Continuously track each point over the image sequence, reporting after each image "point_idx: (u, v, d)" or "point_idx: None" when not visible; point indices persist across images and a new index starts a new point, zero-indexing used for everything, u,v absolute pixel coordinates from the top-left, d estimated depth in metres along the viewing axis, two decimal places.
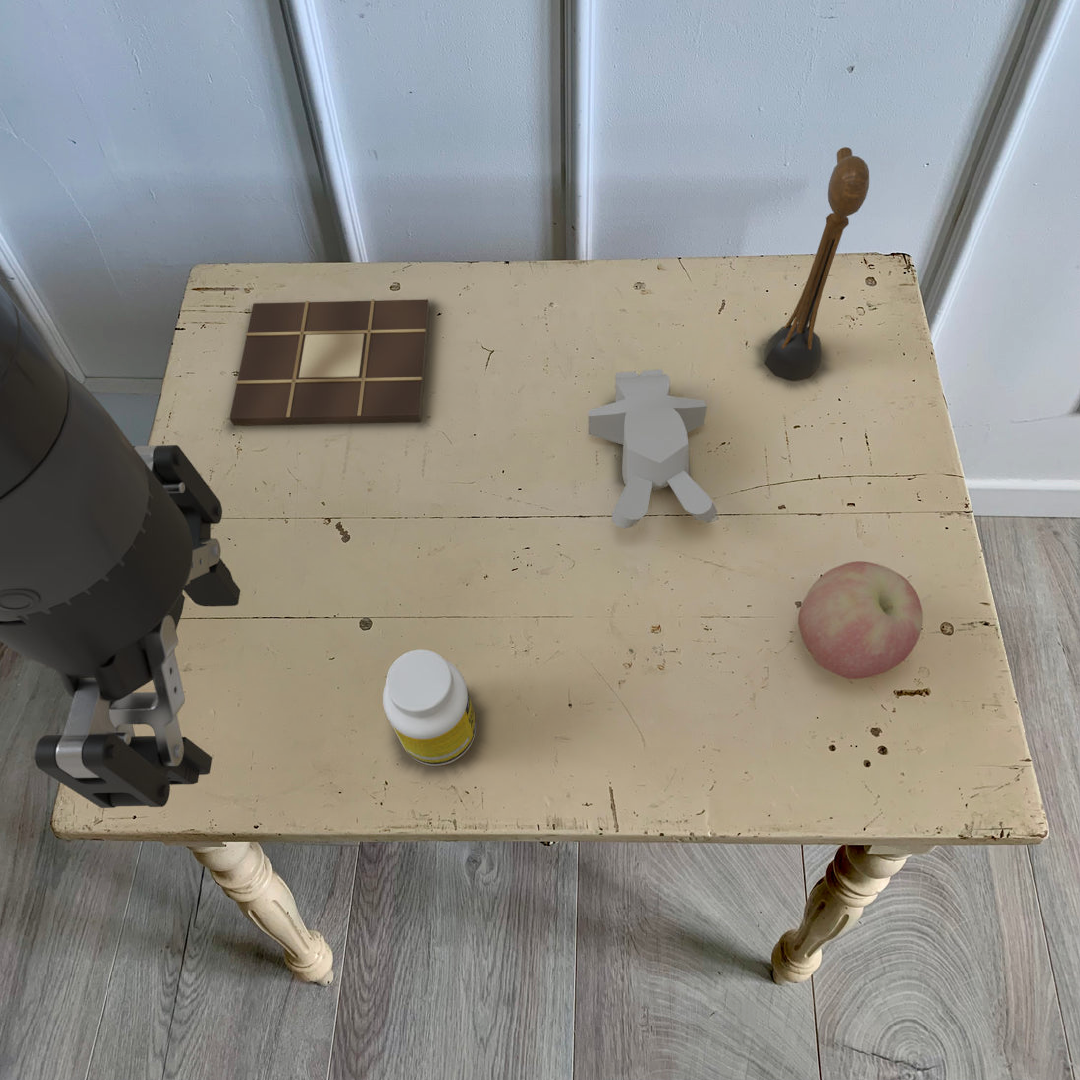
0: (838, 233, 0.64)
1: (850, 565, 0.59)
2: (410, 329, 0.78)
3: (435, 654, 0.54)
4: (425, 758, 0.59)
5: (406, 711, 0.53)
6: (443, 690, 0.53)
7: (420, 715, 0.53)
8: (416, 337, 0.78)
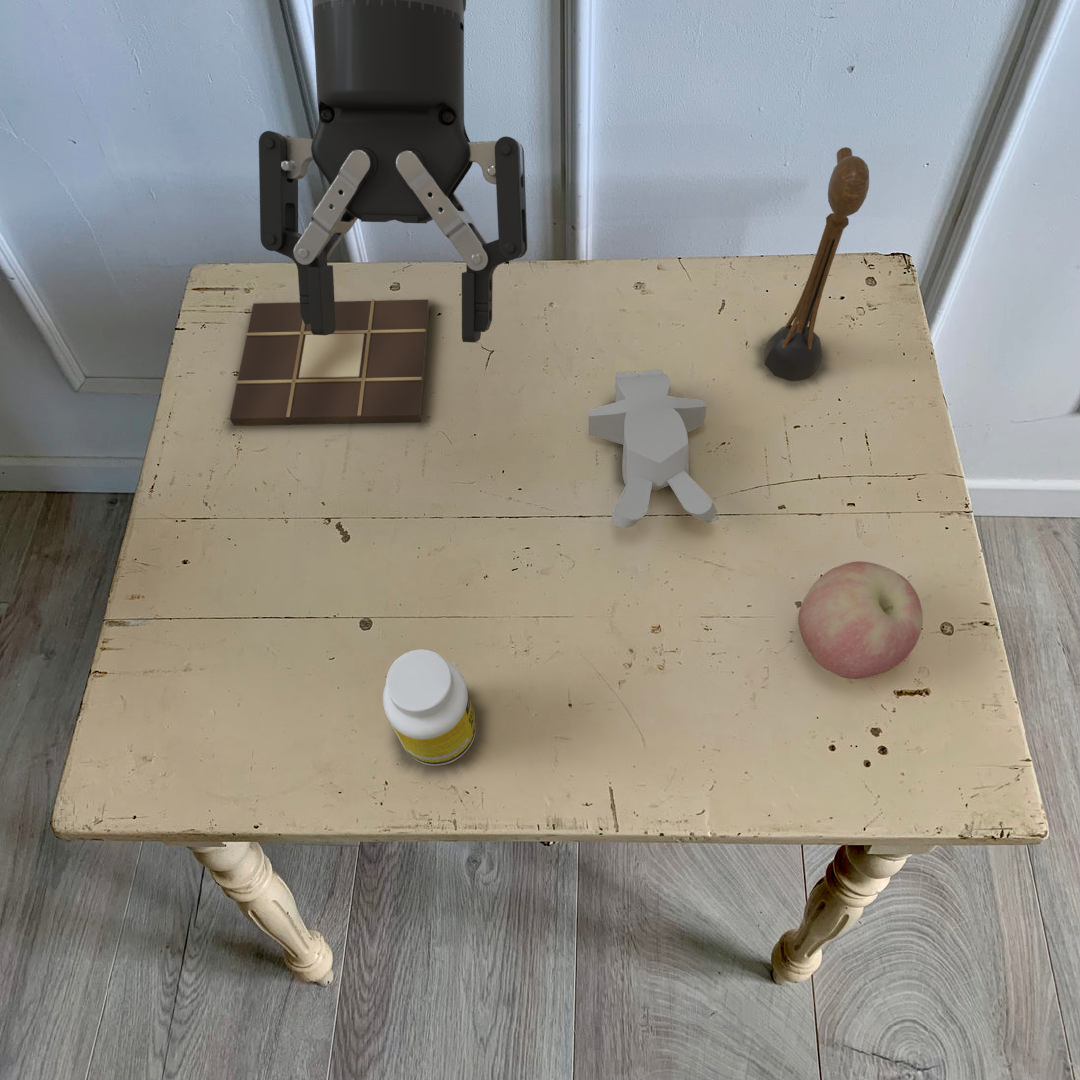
0: (838, 233, 0.64)
1: (850, 565, 0.59)
2: (410, 329, 0.78)
3: (435, 654, 0.54)
4: (425, 758, 0.59)
5: (406, 711, 0.53)
6: (443, 690, 0.53)
7: (420, 715, 0.53)
8: (416, 337, 0.78)
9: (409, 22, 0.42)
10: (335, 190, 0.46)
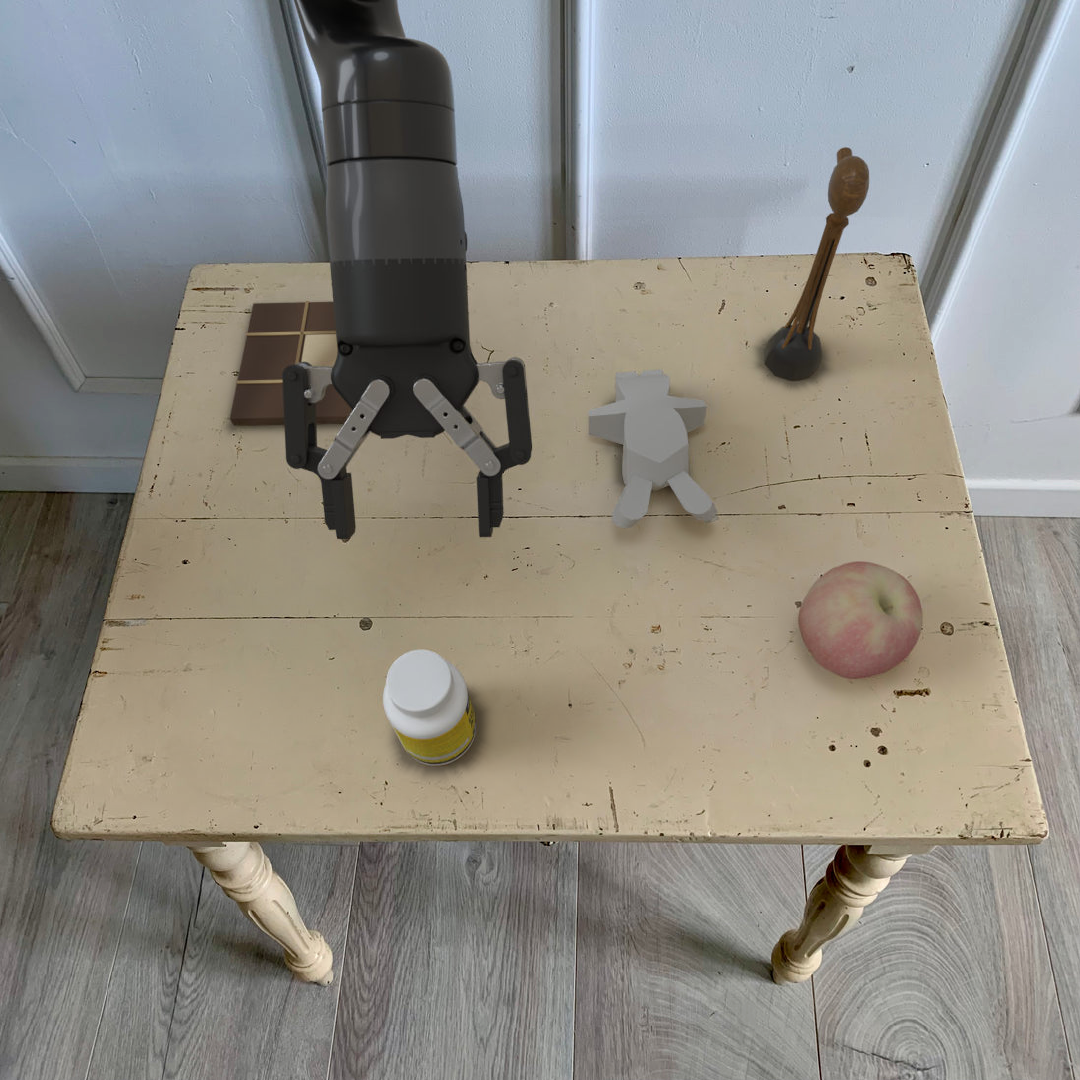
0: (838, 233, 0.64)
1: (850, 565, 0.59)
2: None
3: (435, 654, 0.54)
4: (425, 758, 0.59)
5: (406, 711, 0.53)
6: (443, 690, 0.53)
7: (420, 715, 0.53)
8: None
9: (424, 275, 0.46)
10: (357, 415, 0.50)
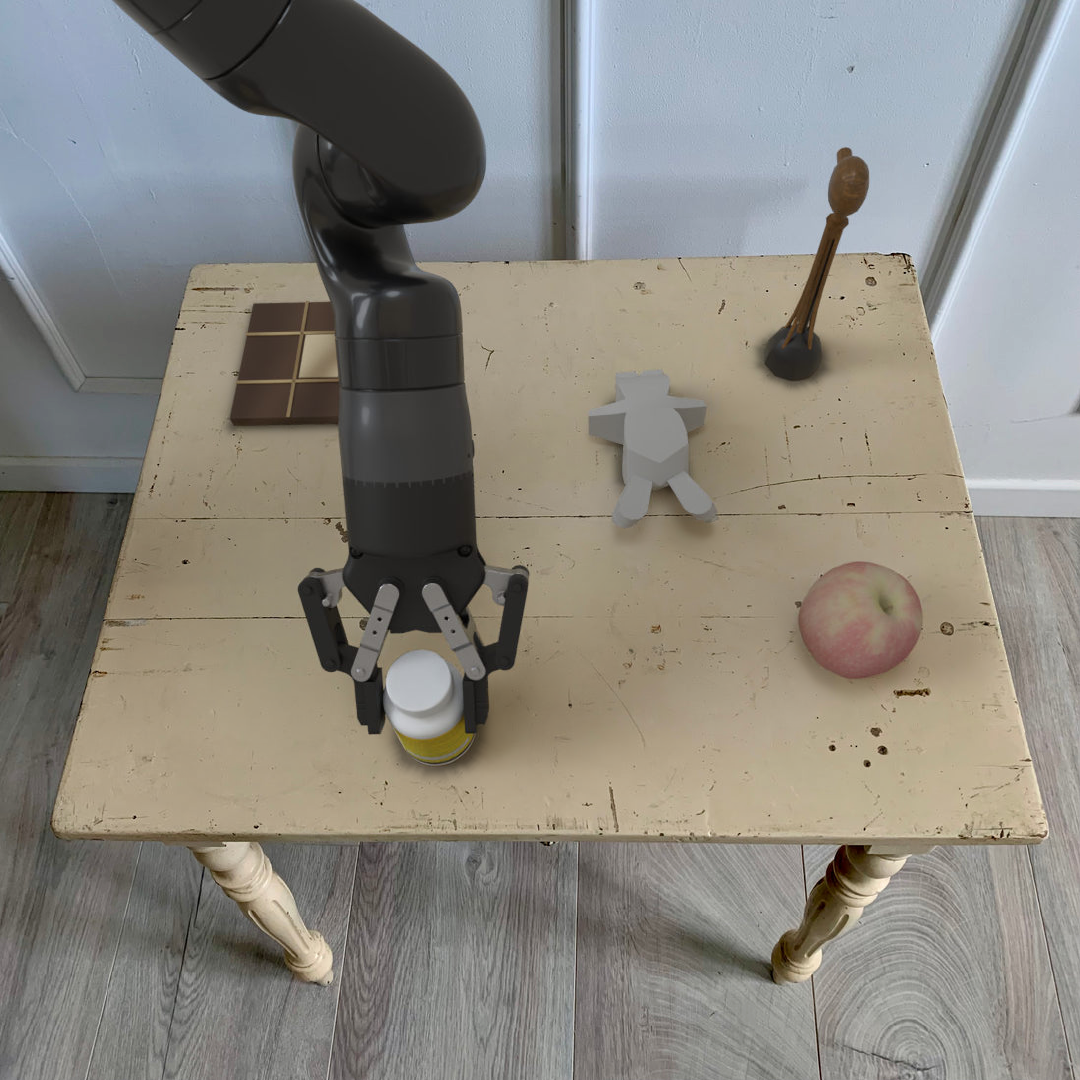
0: (838, 233, 0.64)
1: (850, 565, 0.59)
2: None
3: (435, 654, 0.54)
4: (425, 758, 0.59)
5: (406, 711, 0.53)
6: (443, 691, 0.53)
7: (420, 715, 0.53)
8: None
9: (433, 495, 0.48)
10: (374, 619, 0.52)
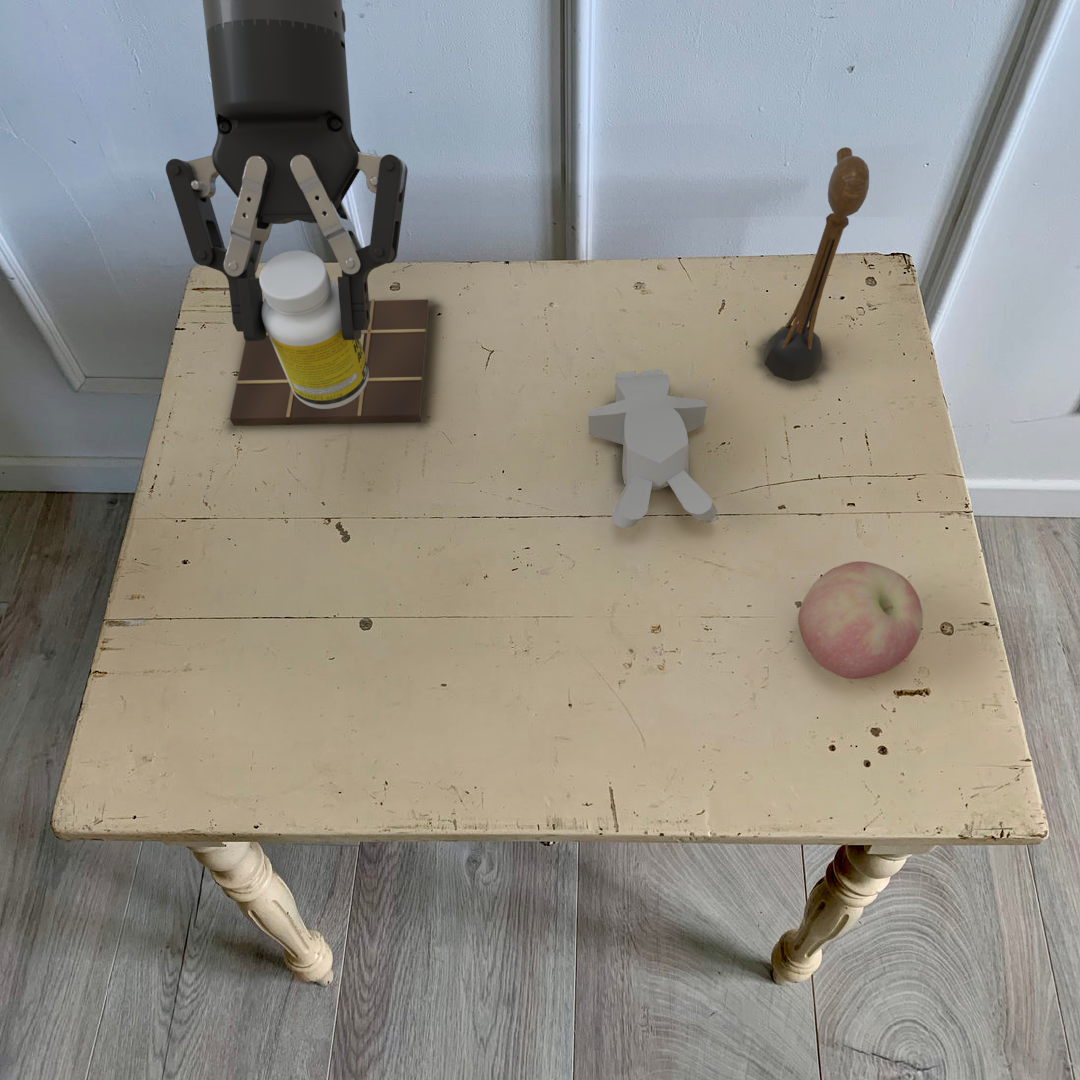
0: (838, 233, 0.64)
1: (850, 565, 0.59)
2: (410, 329, 0.78)
3: (311, 254, 0.53)
4: (311, 392, 0.58)
5: (278, 301, 0.52)
6: (316, 282, 0.52)
7: (293, 308, 0.52)
8: (416, 337, 0.78)
9: (294, 39, 0.47)
10: (243, 199, 0.51)
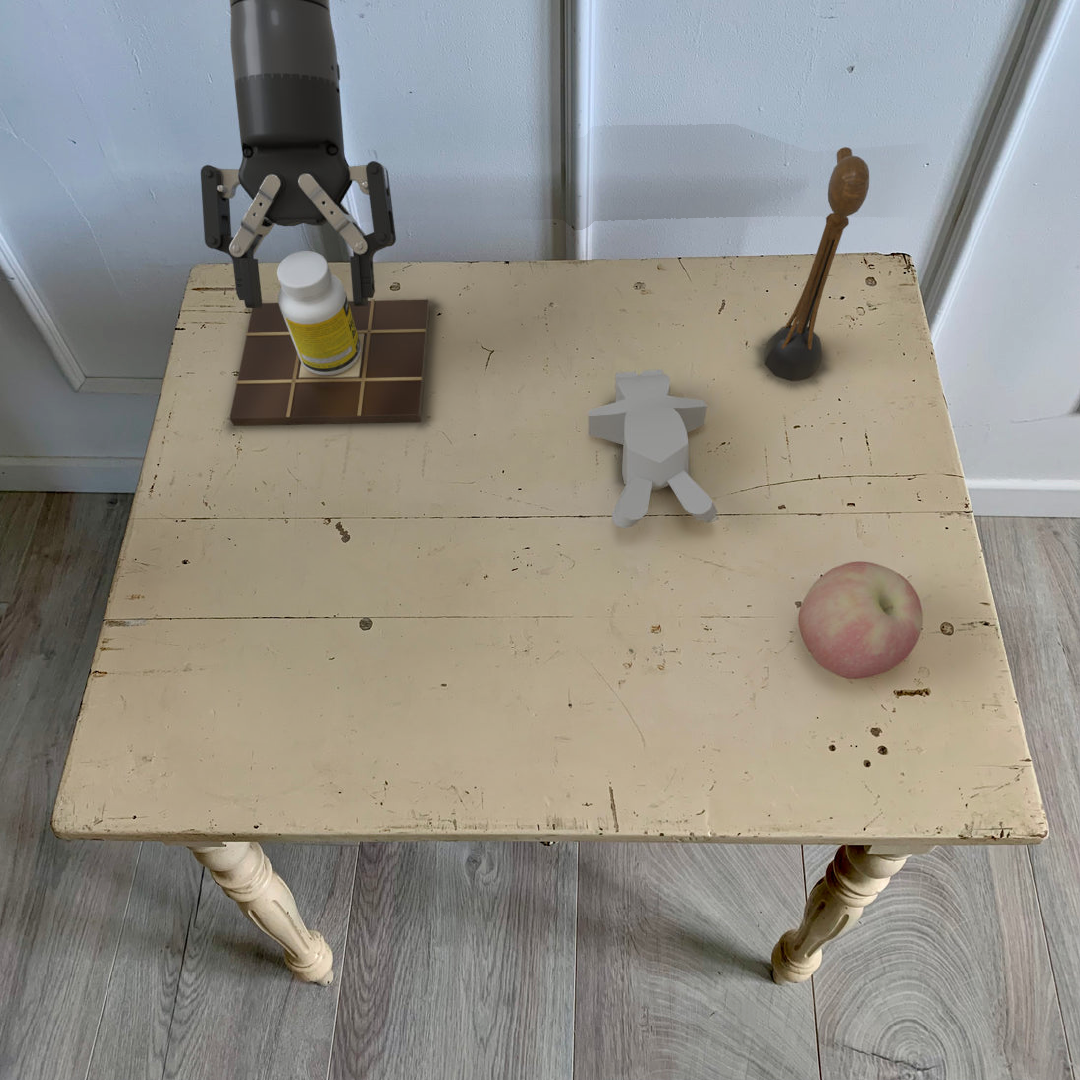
0: (838, 233, 0.64)
1: (850, 565, 0.59)
2: (410, 329, 0.78)
3: (316, 253, 0.69)
4: (316, 361, 0.74)
5: (291, 289, 0.68)
6: (320, 275, 0.68)
7: (303, 294, 0.68)
8: (416, 337, 0.78)
9: (301, 88, 0.63)
10: (257, 203, 0.66)
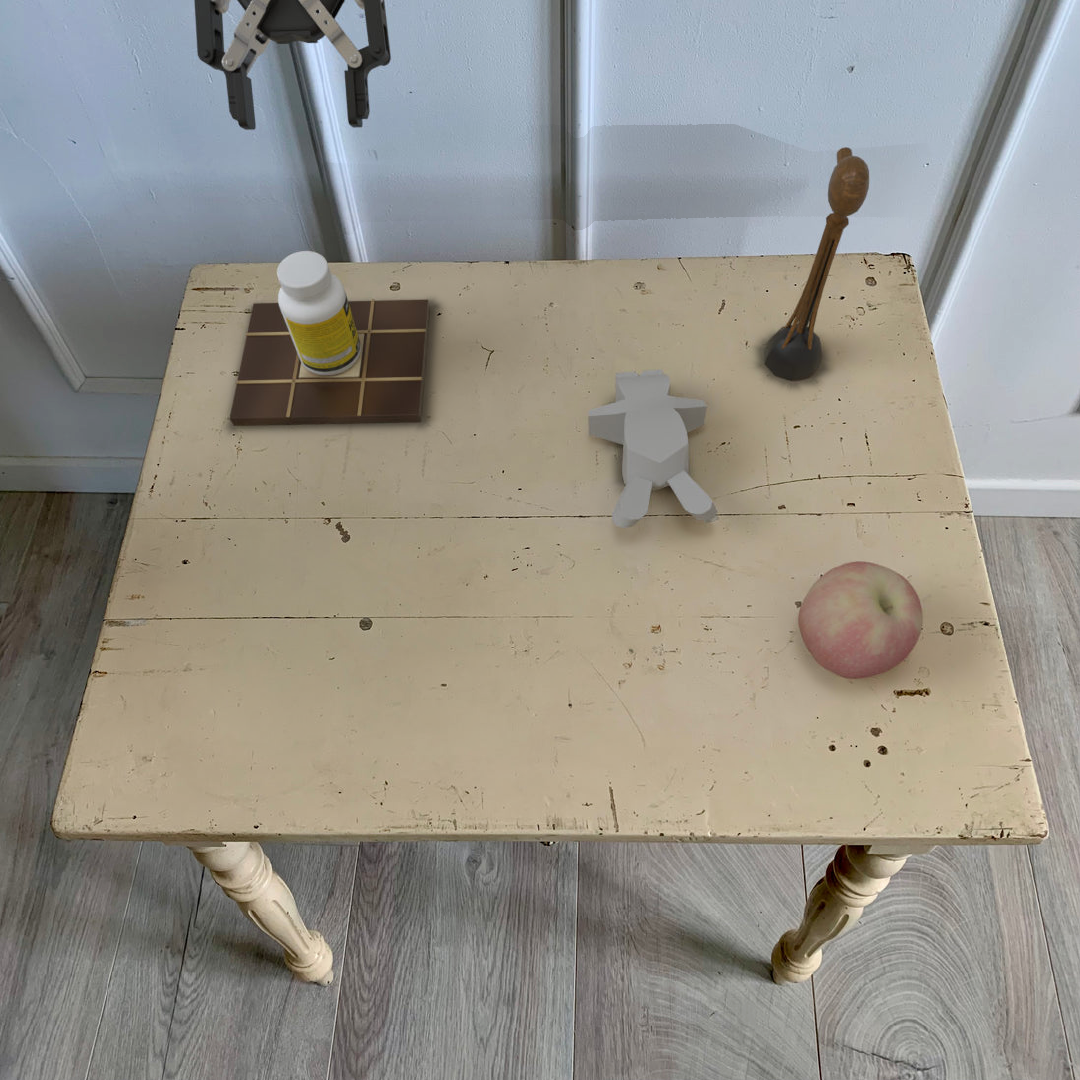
0: (838, 233, 0.64)
1: (850, 565, 0.59)
2: (410, 329, 0.78)
3: (316, 253, 0.69)
4: (316, 361, 0.74)
5: (291, 289, 0.68)
6: (320, 275, 0.68)
7: (303, 294, 0.68)
8: (416, 337, 0.78)
9: None
10: (250, 12, 0.66)
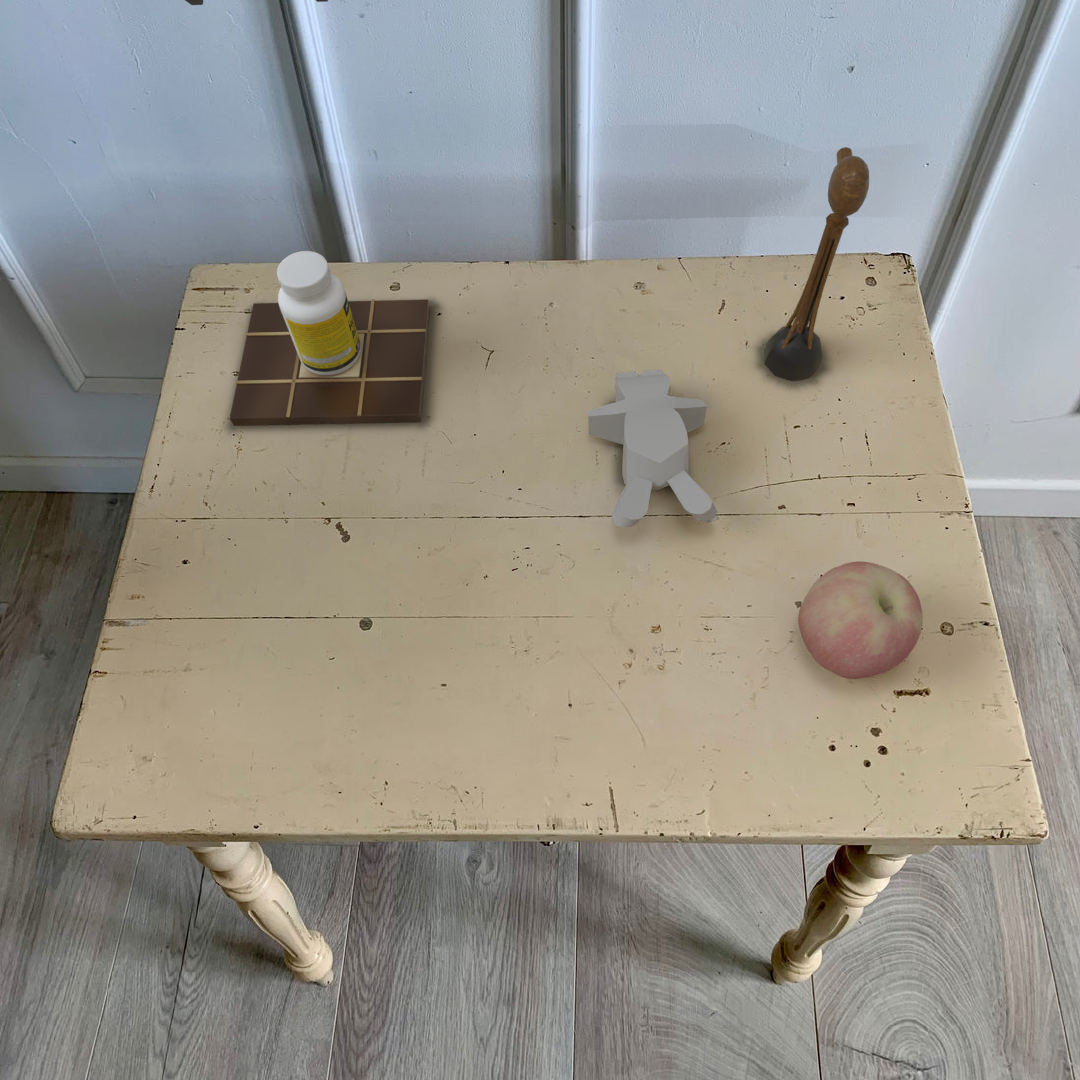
0: (838, 233, 0.64)
1: (850, 565, 0.59)
2: (410, 329, 0.78)
3: (316, 253, 0.69)
4: (316, 361, 0.74)
5: (291, 289, 0.68)
6: (320, 275, 0.68)
7: (303, 294, 0.68)
8: (416, 337, 0.78)
9: None
10: None
